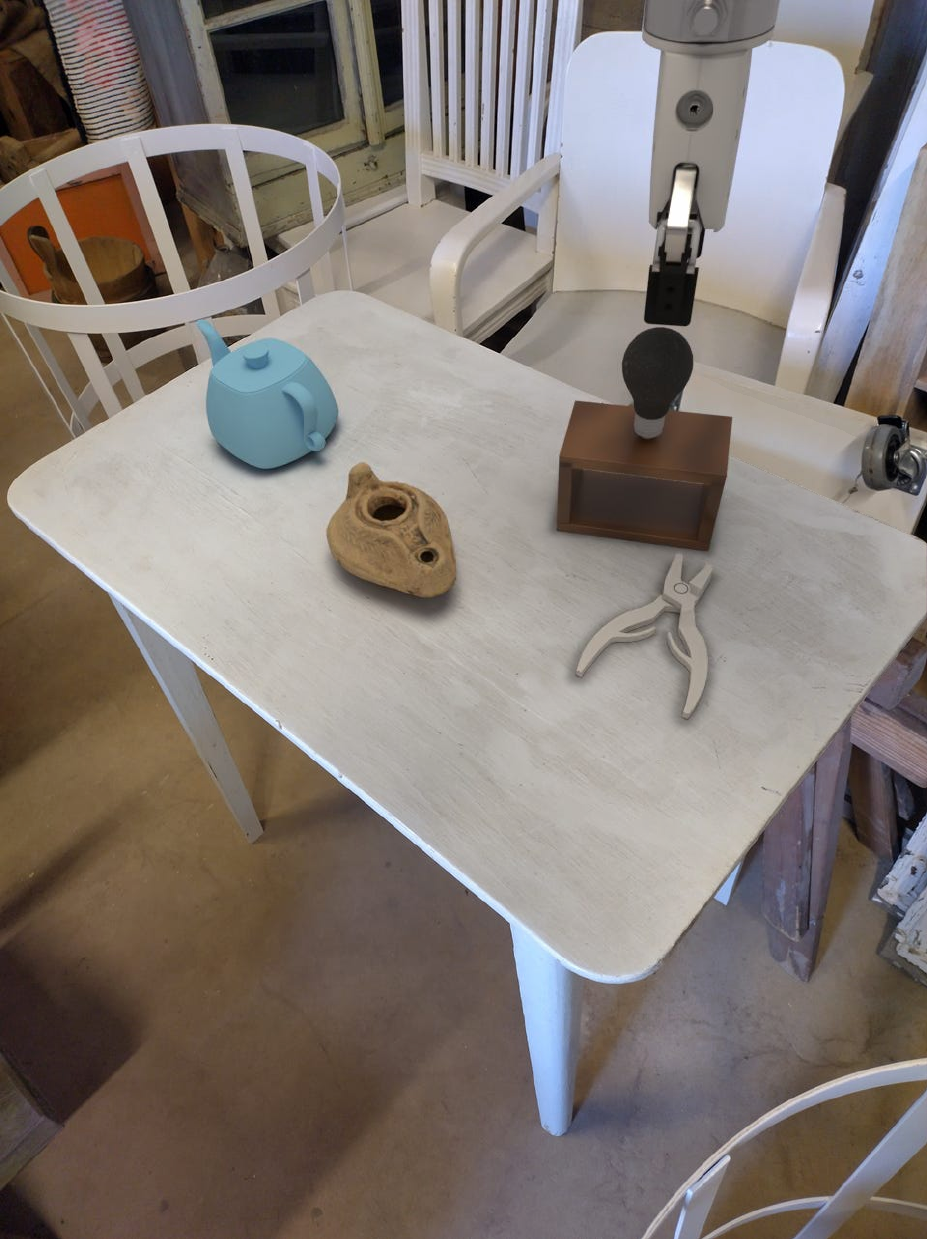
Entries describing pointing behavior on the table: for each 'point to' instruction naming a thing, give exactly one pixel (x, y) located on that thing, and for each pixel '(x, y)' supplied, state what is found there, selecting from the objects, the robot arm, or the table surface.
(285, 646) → the table surface
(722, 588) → the table surface
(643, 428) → the light bulb
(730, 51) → the robot arm
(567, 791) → the table surface
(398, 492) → the oil lamp
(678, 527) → the shelf
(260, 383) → the teapot
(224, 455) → the table surface
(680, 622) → the pliers
